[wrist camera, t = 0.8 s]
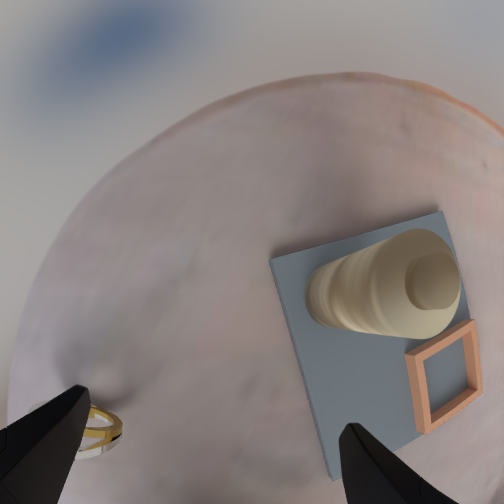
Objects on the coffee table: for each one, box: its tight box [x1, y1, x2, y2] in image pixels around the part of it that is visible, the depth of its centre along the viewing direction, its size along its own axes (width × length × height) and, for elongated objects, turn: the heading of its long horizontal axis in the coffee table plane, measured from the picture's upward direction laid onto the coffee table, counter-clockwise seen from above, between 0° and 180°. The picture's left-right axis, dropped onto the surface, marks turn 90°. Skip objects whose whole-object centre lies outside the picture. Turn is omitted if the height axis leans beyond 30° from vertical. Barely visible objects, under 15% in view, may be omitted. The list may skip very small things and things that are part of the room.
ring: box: [28, 400, 123, 461], centre depth 16 cm, size 7×3×8 cm, turn 81°
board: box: [269, 211, 483, 481], centre depth 23 cm, size 20×18×2 cm
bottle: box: [304, 228, 461, 339], centre depth 17 cm, size 5×5×12 cm
